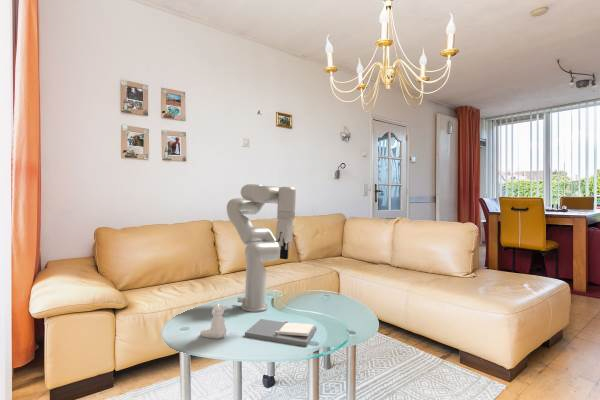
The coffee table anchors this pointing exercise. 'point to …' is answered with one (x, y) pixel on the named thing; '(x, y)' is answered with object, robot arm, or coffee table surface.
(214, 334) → the sitting furry creature
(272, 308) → the coffee table surface
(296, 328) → the tile
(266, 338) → the board
